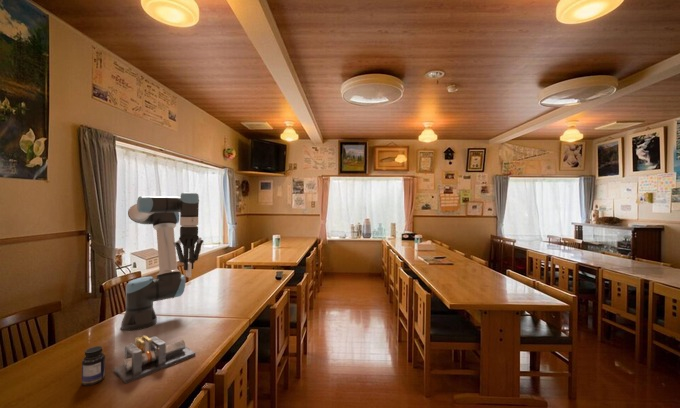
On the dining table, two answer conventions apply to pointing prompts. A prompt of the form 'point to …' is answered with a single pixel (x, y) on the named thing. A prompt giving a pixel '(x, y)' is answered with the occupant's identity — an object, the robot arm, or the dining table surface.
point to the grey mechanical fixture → (158, 364)
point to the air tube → (151, 355)
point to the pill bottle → (93, 366)
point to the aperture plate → (141, 342)
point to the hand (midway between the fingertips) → (188, 276)
